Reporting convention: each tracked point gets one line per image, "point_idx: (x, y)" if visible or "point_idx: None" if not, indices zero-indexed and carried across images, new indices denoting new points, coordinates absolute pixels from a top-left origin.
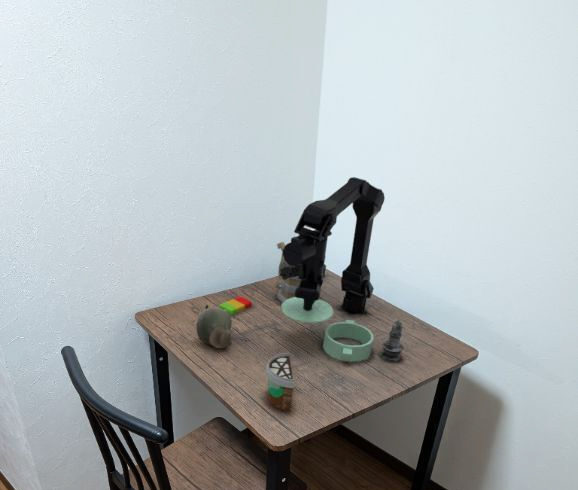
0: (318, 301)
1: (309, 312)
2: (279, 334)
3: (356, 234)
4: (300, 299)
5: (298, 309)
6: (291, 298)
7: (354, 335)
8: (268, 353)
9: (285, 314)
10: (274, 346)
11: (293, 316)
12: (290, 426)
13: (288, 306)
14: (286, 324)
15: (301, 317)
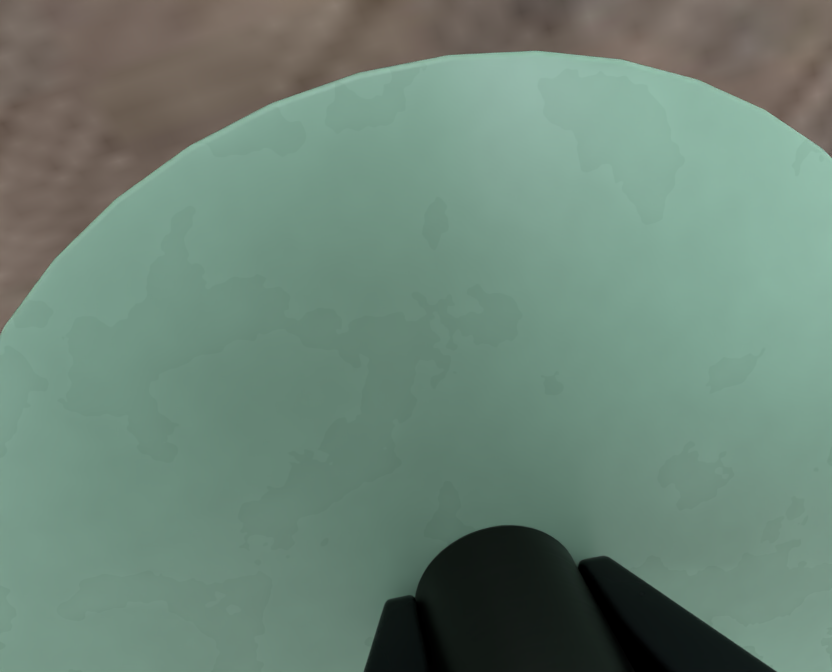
0: (798, 641)
1: (360, 659)
2: (469, 53)
3: None
4: (816, 378)
5: (380, 475)
6: (829, 193)
7: None
8: (25, 49)
9: (41, 280)
10: (205, 72)
11: (6, 488)
12: None
13: (420, 246)
14: (689, 67)
15: (72, 623)
